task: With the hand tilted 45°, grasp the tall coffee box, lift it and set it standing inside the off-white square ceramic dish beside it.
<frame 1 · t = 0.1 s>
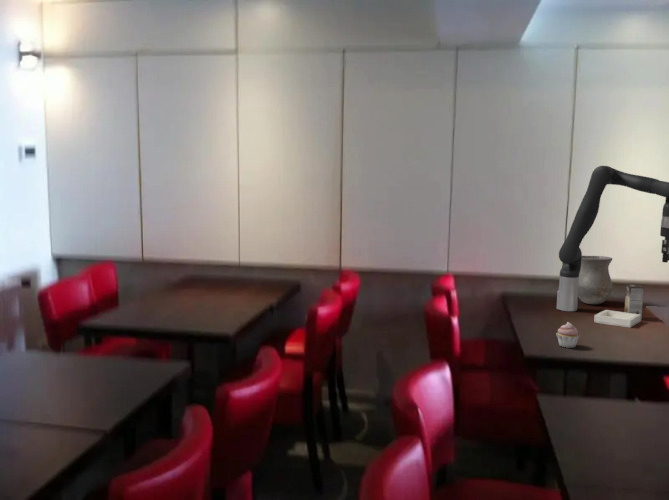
hand: (667, 261, 307), 29 cm above the table, tool pointing down, fingers open, 8 cm apart
dish: (617, 322, 311), on the table
vase: (592, 303, 355), on the table
cupcake: (567, 346, 268), on the table
coffee box: (632, 318, 320), on the table
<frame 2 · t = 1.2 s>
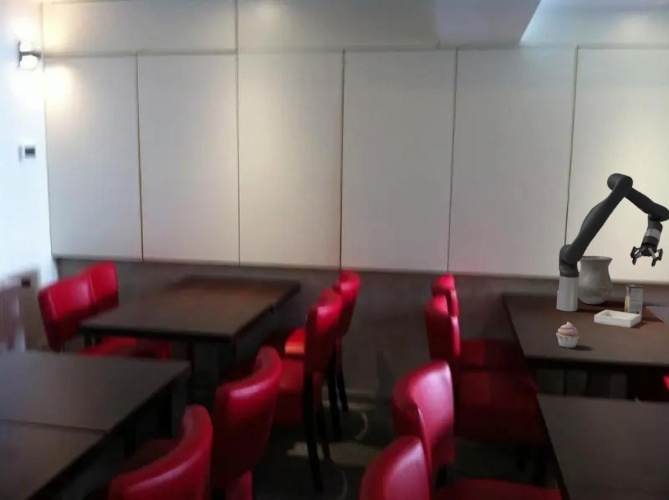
hand: (643, 264, 326), 25 cm above the table, tool tilted 45°, fingers open, 8 cm apart
nothing on the table moved.
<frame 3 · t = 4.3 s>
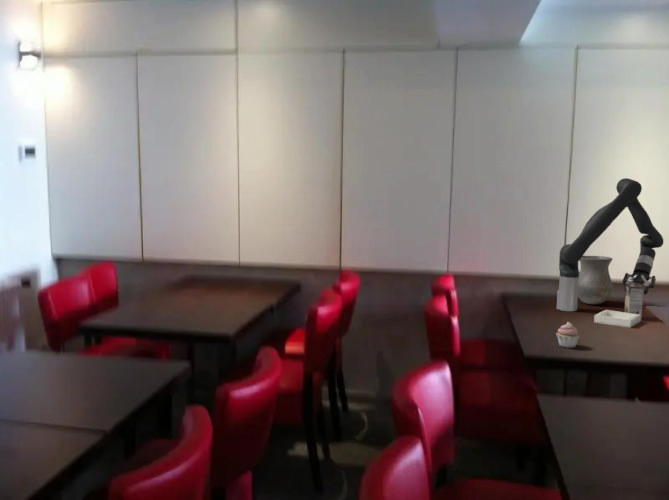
hand: (635, 292, 321), 12 cm above the table, tool tilted 45°, fingers open, 8 cm apart
nothing on the table moved.
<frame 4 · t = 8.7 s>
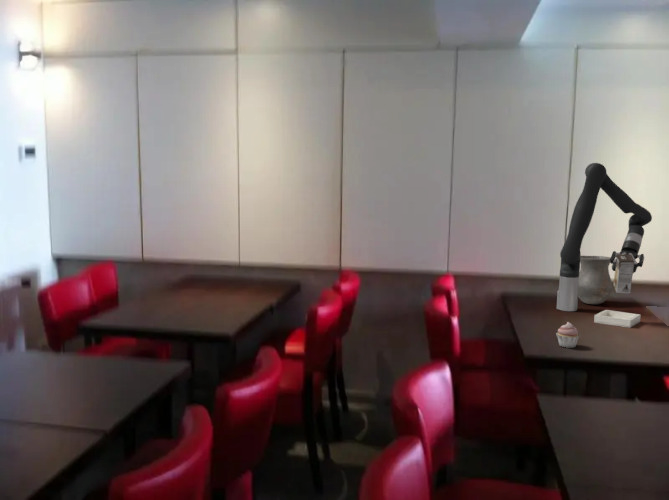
hand: (623, 271, 310), 24 cm above the table, tool tilted 45°, fingers closed on coffee box, 8 cm apart
coffee box: (621, 289, 311), point 15 cm above the table, touching gripper
everything else where it was.
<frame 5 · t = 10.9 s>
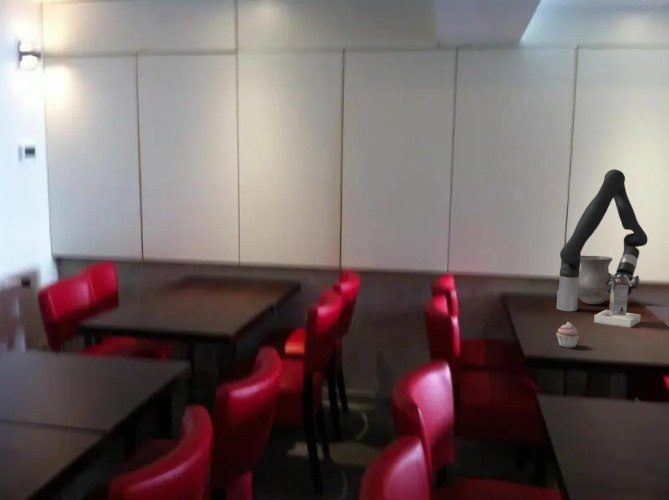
hand: (618, 293, 309), 14 cm above the table, tool tilted 45°, fingers closed on coffee box, 8 cm apart
coffee box: (617, 312, 310), point 5 cm above the table, touching gripper
everything else where it was.
when the fingers open (11 cm above the table, at t = 12.9 s): coffee box stays where it is, point 1 cm above the table.
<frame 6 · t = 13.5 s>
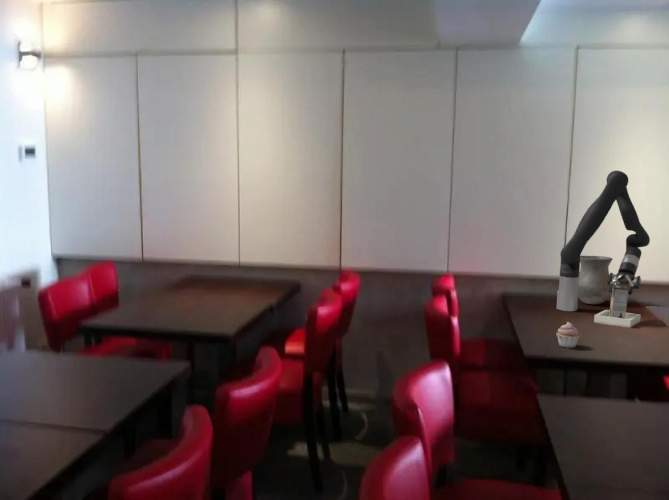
hand: (619, 293, 311), 14 cm above the table, tool tilted 45°, fingers open, 8 cm apart
coffee box: (616, 320, 311), point 1 cm above the table
everything else where it was.
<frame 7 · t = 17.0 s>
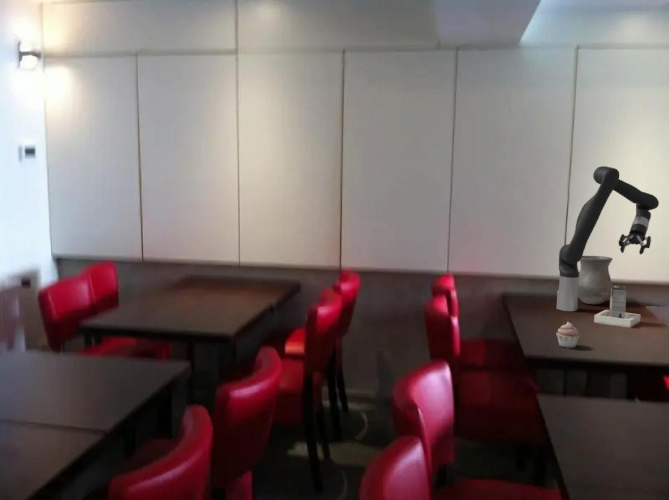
hand: (631, 252, 326), 31 cm above the table, tool tilted 45°, fingers open, 8 cm apart
coffee box: (616, 320, 311), point 1 cm above the table, touching dish
everything else where it was.
at the end: coffee box inside the target area on the dish (0.2 cm from its centre), point 0.6 cm above the dish's base; coffee box tilted 0°; the gripper is holding nothing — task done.
